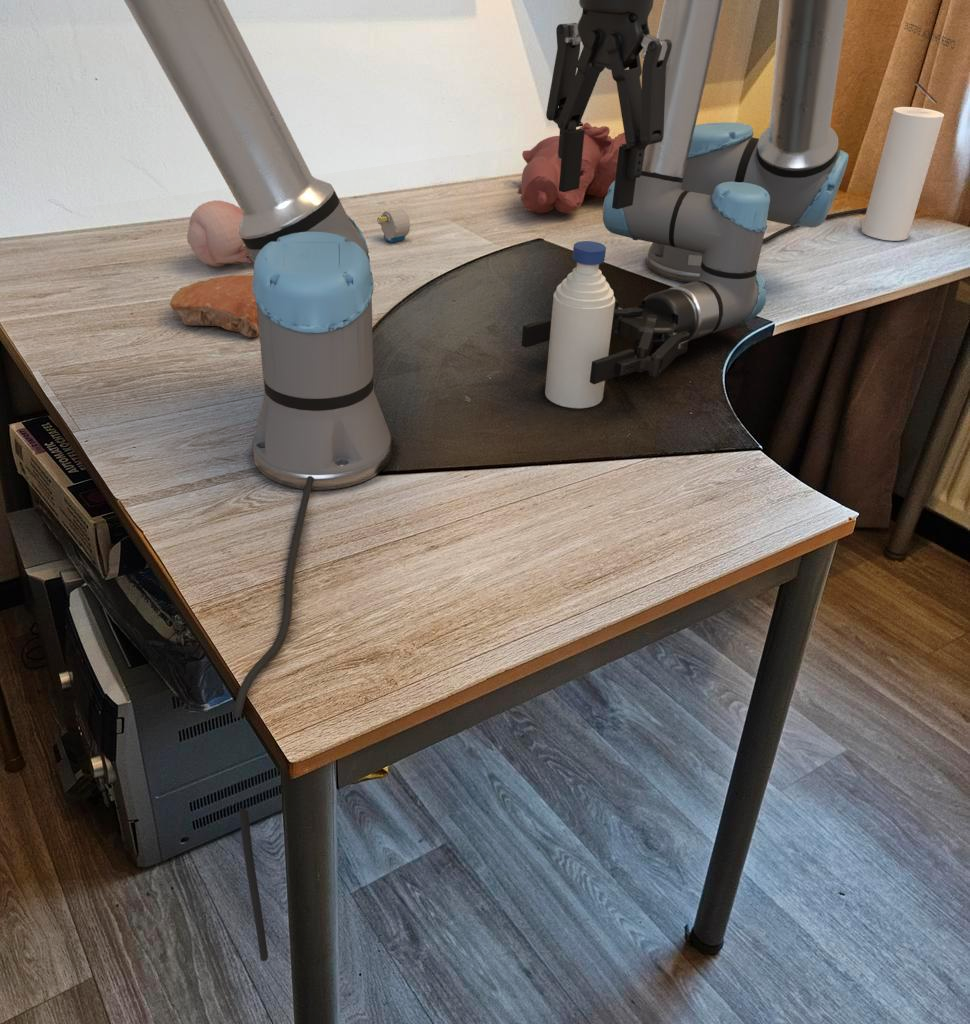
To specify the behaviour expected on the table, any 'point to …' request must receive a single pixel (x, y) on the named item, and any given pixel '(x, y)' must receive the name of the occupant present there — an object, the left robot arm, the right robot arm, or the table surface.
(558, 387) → the bottle
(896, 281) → the table surface
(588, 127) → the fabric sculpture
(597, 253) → the cap
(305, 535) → the table surface
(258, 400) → the table surface
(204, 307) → the ceramic shard
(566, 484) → the table surface
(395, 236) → the electric motor
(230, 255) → the toy
